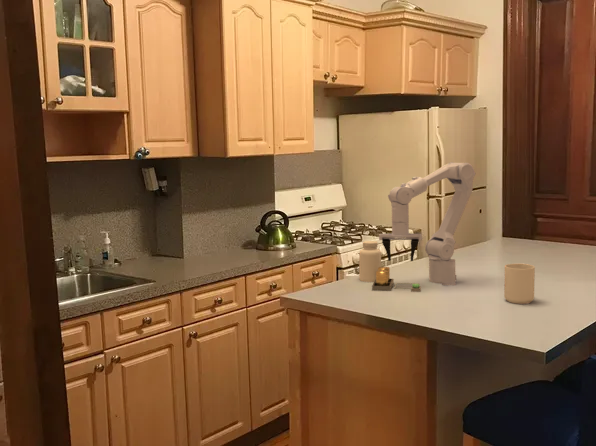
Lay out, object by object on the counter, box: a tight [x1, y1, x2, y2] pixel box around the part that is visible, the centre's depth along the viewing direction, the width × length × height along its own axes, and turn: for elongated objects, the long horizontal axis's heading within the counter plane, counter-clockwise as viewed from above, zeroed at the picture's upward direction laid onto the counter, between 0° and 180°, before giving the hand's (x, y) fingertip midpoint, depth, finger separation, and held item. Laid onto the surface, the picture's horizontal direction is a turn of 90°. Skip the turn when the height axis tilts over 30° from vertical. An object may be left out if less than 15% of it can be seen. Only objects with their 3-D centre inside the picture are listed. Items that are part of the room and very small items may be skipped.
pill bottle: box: [358, 240, 382, 283], centre depth 233 cm, size 8×8×15 cm
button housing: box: [410, 286, 422, 293], centre depth 214 cm, size 3×3×2 cm
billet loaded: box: [378, 266, 391, 282], centre depth 224 cm, size 4×4×6 cm
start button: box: [411, 283, 421, 288], centre depth 214 cm, size 2×2×3 cm
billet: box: [376, 270, 388, 286], centre depth 218 cm, size 4×4×6 cm
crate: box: [371, 278, 395, 292], centre depth 222 cm, size 7×12×2 cm, turn 167°
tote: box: [393, 282, 420, 290], centre depth 221 cm, size 8×8×1 cm
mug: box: [503, 263, 536, 305], centre depth 201 cm, size 12×9×11 cm
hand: (400, 260), depth 221 cm, fingers open, 7 cm apart
